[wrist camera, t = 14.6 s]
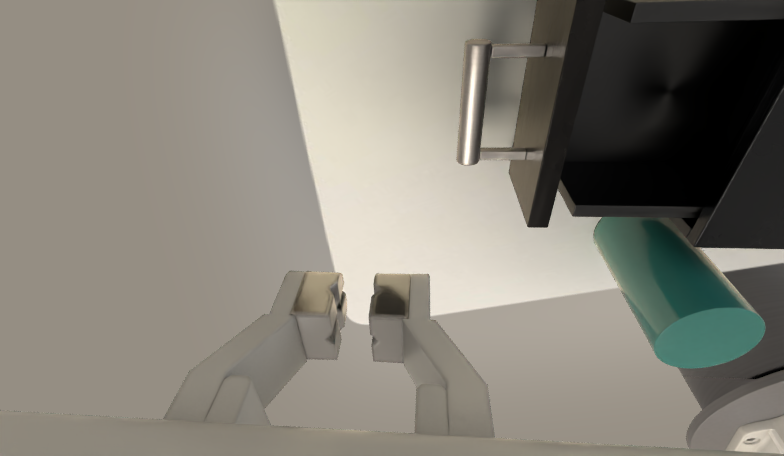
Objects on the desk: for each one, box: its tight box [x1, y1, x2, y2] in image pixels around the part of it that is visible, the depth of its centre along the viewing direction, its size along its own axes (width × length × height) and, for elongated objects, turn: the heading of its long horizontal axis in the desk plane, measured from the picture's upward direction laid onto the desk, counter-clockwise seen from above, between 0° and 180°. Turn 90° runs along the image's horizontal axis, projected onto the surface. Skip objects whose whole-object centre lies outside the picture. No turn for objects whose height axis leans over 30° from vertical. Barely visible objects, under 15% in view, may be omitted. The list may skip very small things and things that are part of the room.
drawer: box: [456, 0, 784, 228], centre depth 22 cm, size 19×12×7 cm, turn 92°
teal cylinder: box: [594, 217, 765, 368], centre depth 28 cm, size 6×6×11 cm
